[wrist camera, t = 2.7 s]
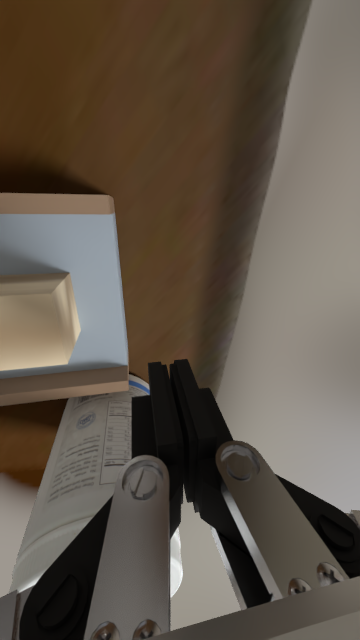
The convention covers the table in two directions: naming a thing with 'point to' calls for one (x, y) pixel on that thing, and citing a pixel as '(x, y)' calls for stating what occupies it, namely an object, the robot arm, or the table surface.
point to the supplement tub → (81, 481)
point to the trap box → (88, 285)
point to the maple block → (37, 320)
